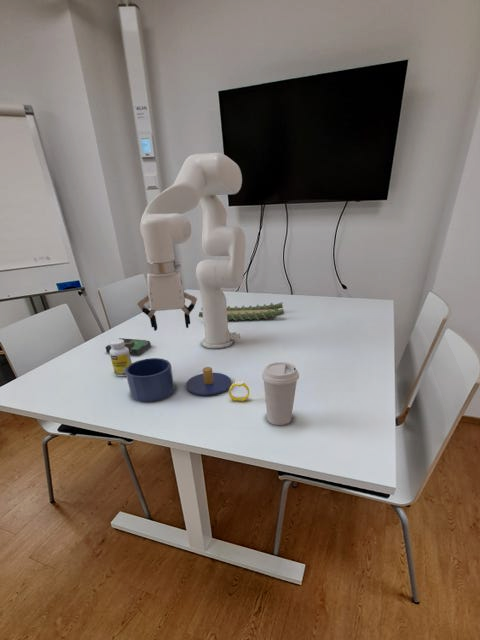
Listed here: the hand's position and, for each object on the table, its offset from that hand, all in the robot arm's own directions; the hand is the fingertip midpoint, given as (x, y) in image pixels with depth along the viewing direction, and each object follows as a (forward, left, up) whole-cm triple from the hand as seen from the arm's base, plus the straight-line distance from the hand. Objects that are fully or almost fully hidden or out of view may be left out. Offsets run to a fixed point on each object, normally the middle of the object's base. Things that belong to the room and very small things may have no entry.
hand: (171, 327), depth 109 cm
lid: (-10, +5, -18) cm, 21 cm away
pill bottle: (+20, -10, -18) cm, 29 cm away
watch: (-19, +16, -18) cm, 31 cm away
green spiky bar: (-27, -64, -18) cm, 72 cm away
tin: (+8, +6, -18) cm, 21 cm away
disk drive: (+22, -32, -18) cm, 43 cm away
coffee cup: (-29, +28, -18) cm, 44 cm away
